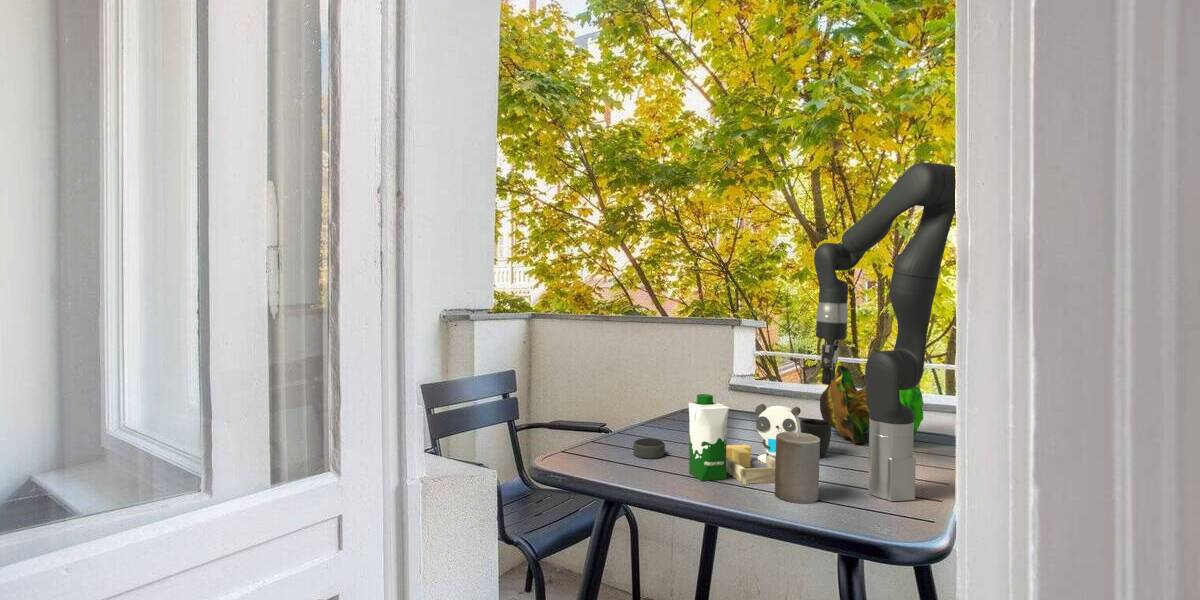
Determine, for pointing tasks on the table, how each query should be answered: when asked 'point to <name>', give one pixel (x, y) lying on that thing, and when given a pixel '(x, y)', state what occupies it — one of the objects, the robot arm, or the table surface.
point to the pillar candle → (797, 467)
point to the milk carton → (707, 438)
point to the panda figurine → (775, 425)
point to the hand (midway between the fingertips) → (828, 381)
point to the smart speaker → (649, 448)
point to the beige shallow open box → (752, 472)
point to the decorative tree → (858, 406)
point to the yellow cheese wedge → (739, 454)
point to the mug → (818, 432)
